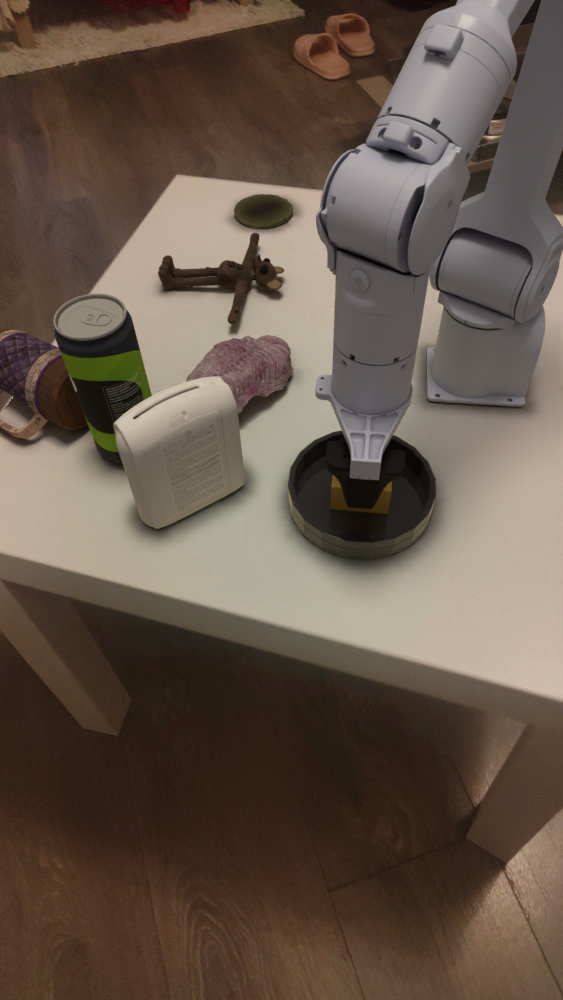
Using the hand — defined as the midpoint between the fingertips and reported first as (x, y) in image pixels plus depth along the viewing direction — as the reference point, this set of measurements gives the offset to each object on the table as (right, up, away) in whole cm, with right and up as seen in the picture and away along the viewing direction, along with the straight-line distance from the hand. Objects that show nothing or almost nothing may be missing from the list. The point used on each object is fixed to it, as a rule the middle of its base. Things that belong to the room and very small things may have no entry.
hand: (362, 468), depth 55 cm
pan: (0, -3, +3) cm, 4 cm away
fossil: (-11, +8, +13) cm, 19 cm away
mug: (-26, +6, +7) cm, 28 cm away
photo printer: (-15, -2, +5) cm, 16 cm away
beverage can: (-21, +3, +8) cm, 23 cm away
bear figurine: (-14, +23, +24) cm, 36 cm away
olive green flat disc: (-9, +37, +33) cm, 50 cm away
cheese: (0, -2, +3) cm, 4 cm away
